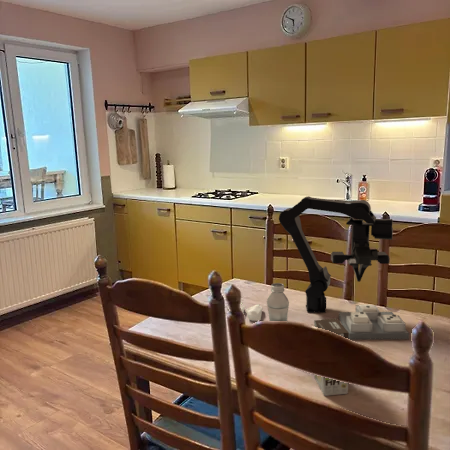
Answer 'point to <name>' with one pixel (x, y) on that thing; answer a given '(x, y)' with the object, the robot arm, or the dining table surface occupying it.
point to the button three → (391, 319)
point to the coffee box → (328, 384)
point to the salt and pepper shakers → (253, 312)
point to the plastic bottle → (277, 303)
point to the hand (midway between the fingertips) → (358, 281)
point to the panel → (373, 326)
